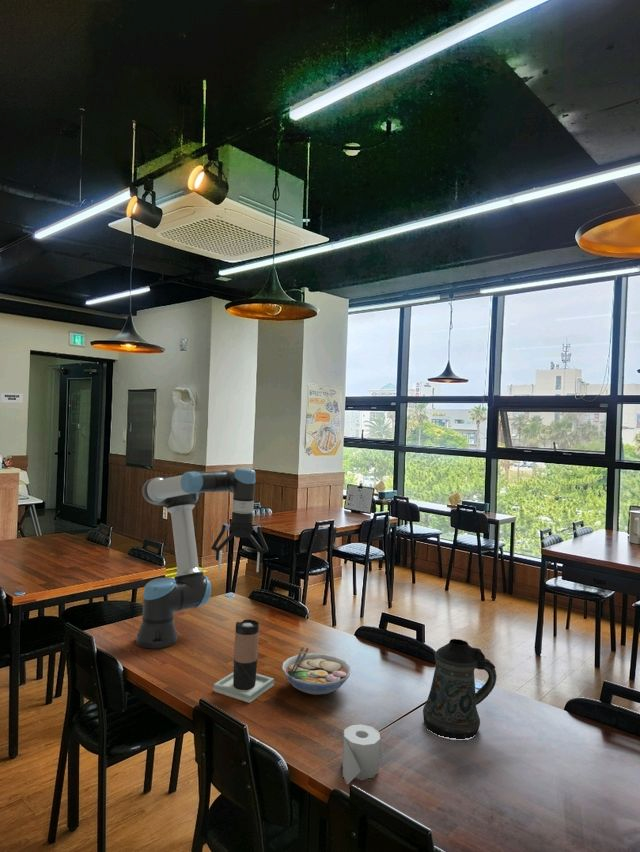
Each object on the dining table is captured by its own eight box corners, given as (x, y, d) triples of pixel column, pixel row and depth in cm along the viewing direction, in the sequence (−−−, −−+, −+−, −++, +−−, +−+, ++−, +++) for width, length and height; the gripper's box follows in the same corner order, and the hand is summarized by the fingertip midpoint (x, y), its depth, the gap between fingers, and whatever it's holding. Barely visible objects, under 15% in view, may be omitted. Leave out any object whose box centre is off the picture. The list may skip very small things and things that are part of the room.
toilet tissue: (343, 789, 131) (345, 753, 131) (341, 756, 144) (343, 723, 144) (381, 791, 131) (383, 755, 131) (376, 758, 144) (378, 725, 144)
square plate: (213, 691, 175) (213, 684, 175) (238, 674, 188) (239, 668, 188) (249, 703, 169) (250, 695, 169) (273, 685, 181) (274, 678, 181)
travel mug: (254, 691, 175) (257, 628, 175) (230, 689, 175) (233, 626, 175) (257, 680, 182) (260, 619, 182) (234, 679, 182) (237, 618, 183)
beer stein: (412, 715, 167) (416, 633, 167) (465, 707, 173) (469, 628, 174) (442, 746, 151) (447, 655, 151) (500, 736, 158) (504, 649, 158)
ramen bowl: (343, 714, 165) (345, 686, 166) (271, 702, 170) (272, 676, 170) (355, 678, 190) (356, 654, 190) (291, 669, 195) (292, 646, 195)
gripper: (206, 511, 193) (202, 571, 193) (277, 515, 195) (273, 574, 195) (208, 507, 200) (204, 565, 200) (277, 511, 202) (273, 569, 203)
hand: (238, 570), depth 198 cm, fingers open, 13 cm apart
